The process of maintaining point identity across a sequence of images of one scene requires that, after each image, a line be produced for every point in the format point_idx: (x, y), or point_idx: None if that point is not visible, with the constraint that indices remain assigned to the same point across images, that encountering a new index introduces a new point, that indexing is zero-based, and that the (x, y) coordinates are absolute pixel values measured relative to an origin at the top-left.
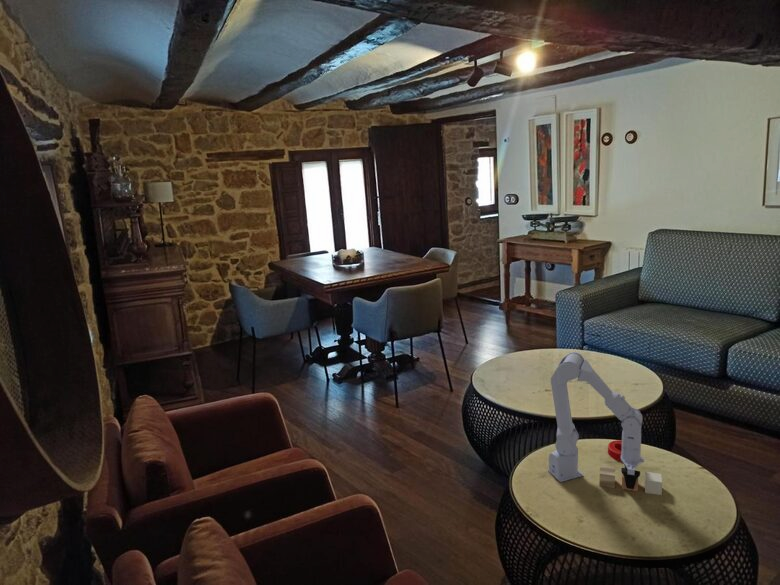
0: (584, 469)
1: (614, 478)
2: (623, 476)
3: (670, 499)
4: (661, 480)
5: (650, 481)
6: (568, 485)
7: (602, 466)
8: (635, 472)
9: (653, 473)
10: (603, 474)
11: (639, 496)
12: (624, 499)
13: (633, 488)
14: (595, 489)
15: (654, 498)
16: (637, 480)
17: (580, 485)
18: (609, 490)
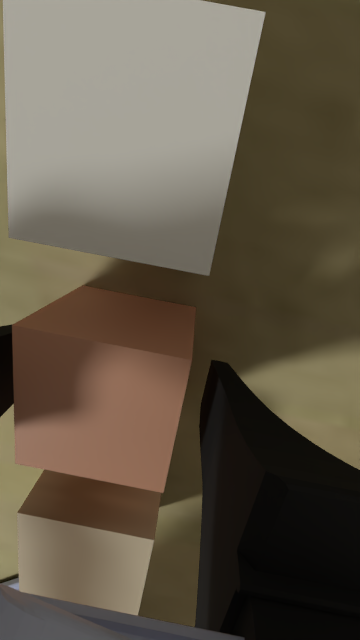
0: (7, 540)
1: (157, 511)
2: (157, 482)
3: (310, 21)
4: (208, 12)
5: (219, 213)
6: (172, 619)
7: (26, 584)
8: (334, 571)
9: (21, 117)
10: (141, 595)
11: (261, 309)
12: (297, 413)
13: (229, 365)
14: (195, 531)
15: (289, 192)
16: (191, 356)
17: (165, 580)
18: (199, 471)
